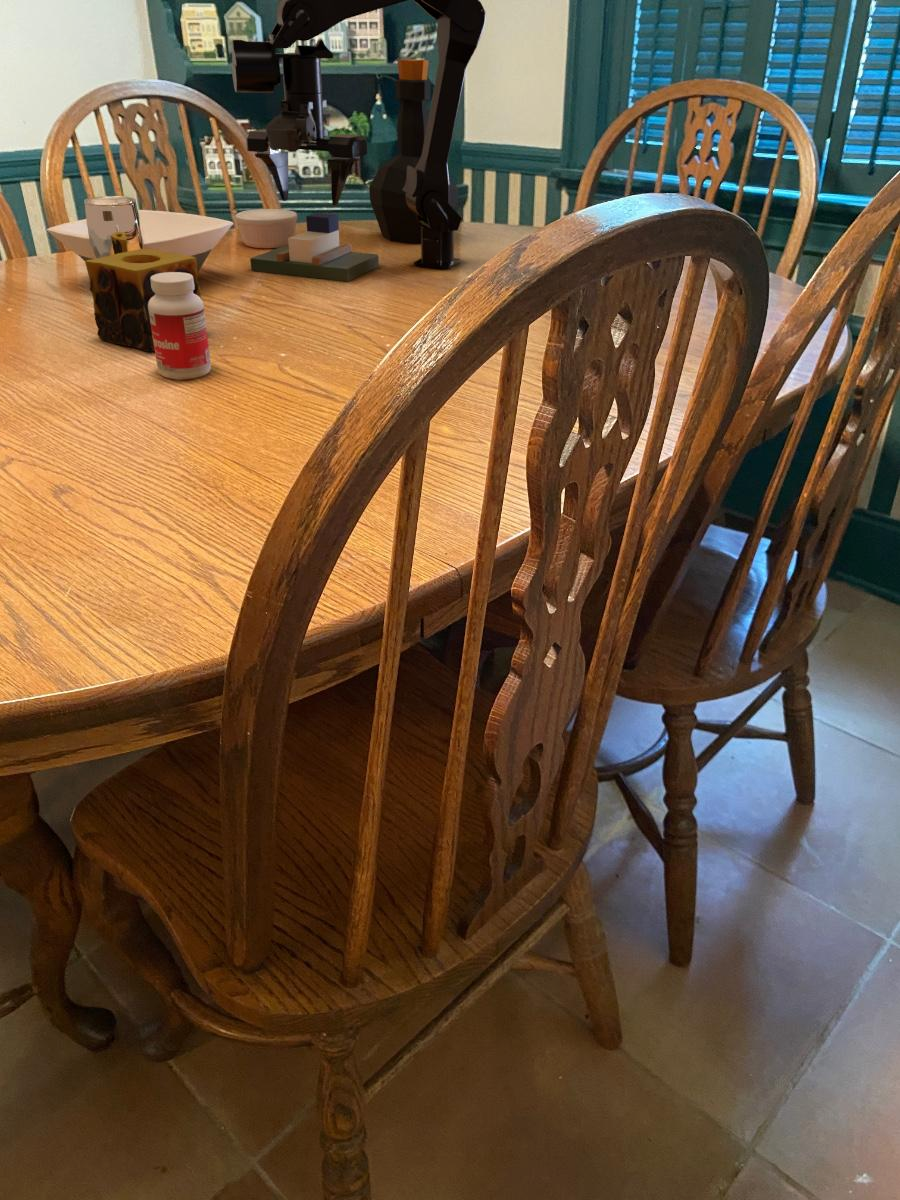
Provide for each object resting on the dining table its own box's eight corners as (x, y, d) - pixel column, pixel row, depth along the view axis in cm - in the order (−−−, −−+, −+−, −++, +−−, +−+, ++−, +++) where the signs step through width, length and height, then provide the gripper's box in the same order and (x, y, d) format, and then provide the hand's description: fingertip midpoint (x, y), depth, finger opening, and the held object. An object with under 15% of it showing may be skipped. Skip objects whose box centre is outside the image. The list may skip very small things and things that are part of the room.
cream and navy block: (318, 249, 157) (316, 212, 154) (340, 251, 156) (338, 214, 153) (289, 261, 149) (286, 222, 146) (312, 263, 148) (309, 224, 145)
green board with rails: (287, 256, 161) (285, 237, 160) (378, 266, 156) (378, 247, 154) (251, 270, 152) (249, 250, 150) (347, 281, 146) (346, 261, 145)
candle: (150, 354, 113) (136, 271, 108) (96, 340, 118) (80, 260, 112) (209, 334, 121) (199, 256, 115) (155, 322, 125) (143, 246, 120)
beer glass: (140, 322, 125) (120, 205, 117) (94, 318, 126) (71, 202, 118) (163, 309, 131) (146, 197, 123) (119, 305, 132) (99, 194, 124)
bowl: (44, 287, 140) (31, 229, 136) (149, 259, 157) (141, 207, 153) (152, 306, 132) (142, 245, 127) (251, 275, 149) (245, 220, 144)
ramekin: (228, 247, 166) (225, 217, 164) (252, 236, 176) (250, 207, 173) (285, 251, 165) (283, 220, 162) (307, 239, 174) (305, 210, 171)
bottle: (409, 249, 168) (408, 61, 152) (356, 235, 178) (349, 58, 162) (472, 238, 177) (476, 60, 161) (417, 225, 187) (416, 57, 171)
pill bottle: (148, 372, 108) (132, 276, 102) (190, 360, 112) (177, 267, 106) (179, 384, 104) (164, 286, 98) (222, 372, 108) (211, 276, 102)
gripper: (221, 93, 135) (233, 205, 143) (333, 98, 129) (338, 215, 138) (260, 89, 144) (269, 195, 152) (367, 94, 138) (370, 204, 146)
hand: (309, 202), depth 147 cm, fingers open, 9 cm apart
